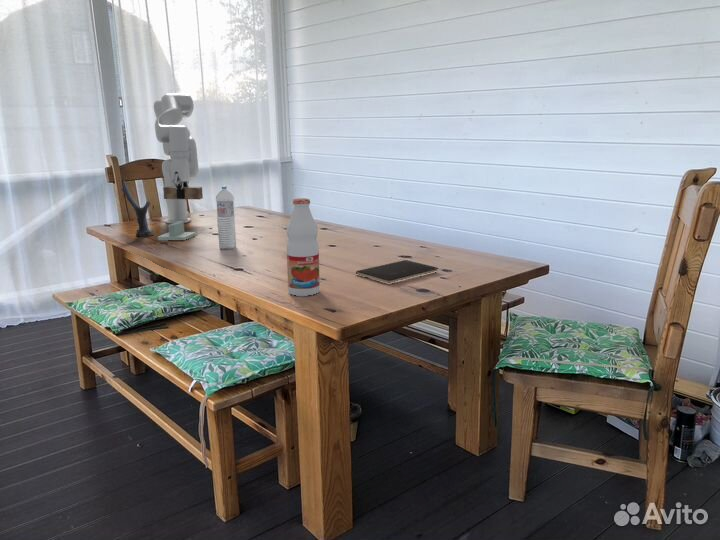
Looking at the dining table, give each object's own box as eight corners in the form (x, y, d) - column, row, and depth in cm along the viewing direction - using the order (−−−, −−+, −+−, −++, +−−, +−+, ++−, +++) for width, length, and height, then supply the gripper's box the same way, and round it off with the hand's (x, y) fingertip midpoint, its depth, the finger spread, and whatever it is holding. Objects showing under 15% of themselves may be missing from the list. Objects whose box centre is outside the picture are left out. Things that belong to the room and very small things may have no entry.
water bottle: (215, 248, 235) (211, 186, 228) (230, 245, 239) (226, 184, 233) (225, 250, 230) (221, 187, 224) (239, 248, 235) (236, 186, 229)
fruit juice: (313, 286, 180) (311, 196, 173) (324, 294, 172) (322, 200, 165) (284, 290, 176) (280, 198, 169) (293, 298, 168) (290, 202, 161)
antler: (151, 233, 266) (146, 178, 260) (156, 236, 260) (151, 180, 254) (125, 236, 260) (119, 180, 254) (129, 239, 254) (123, 181, 247)
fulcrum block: (170, 234, 263) (169, 220, 261) (195, 235, 261) (194, 221, 259) (157, 240, 251) (156, 225, 249) (184, 240, 249) (183, 225, 248)
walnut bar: (164, 199, 254) (163, 187, 252) (168, 197, 257) (167, 186, 256) (199, 199, 252) (198, 187, 251) (202, 198, 256) (202, 186, 255)
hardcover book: (438, 274, 196) (438, 267, 195) (388, 287, 181) (388, 280, 181) (404, 265, 208) (404, 259, 207) (355, 277, 193) (355, 270, 192)
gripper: (179, 154, 259) (182, 195, 263) (163, 156, 242) (166, 200, 247) (195, 154, 258) (198, 195, 262) (180, 156, 242) (183, 200, 246)
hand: (183, 197), depth 255 cm, fingers closed on walnut bar, 4 cm apart
